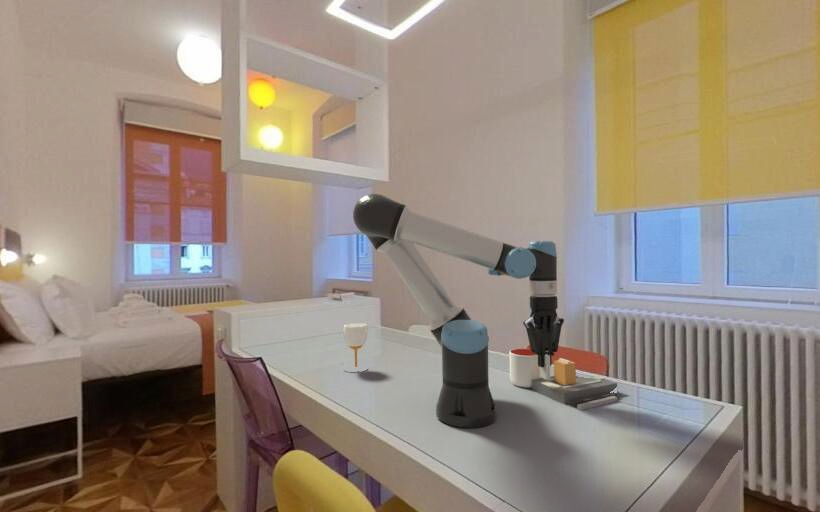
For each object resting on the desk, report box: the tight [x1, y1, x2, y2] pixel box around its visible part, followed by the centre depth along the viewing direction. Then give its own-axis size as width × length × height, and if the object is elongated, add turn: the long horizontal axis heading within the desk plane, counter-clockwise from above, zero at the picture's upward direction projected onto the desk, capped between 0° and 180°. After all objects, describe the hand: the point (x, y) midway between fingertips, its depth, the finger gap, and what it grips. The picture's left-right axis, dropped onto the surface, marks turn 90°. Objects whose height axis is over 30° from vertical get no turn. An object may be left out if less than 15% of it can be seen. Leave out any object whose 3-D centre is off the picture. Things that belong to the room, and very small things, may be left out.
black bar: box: [570, 392, 619, 408], centre depth 109 cm, size 16×1×1 cm, turn 113°
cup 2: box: [343, 322, 369, 367], centre depth 144 cm, size 9×9×16 cm
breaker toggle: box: [553, 357, 577, 385], centre depth 116 cm, size 4×4×7 cm
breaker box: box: [531, 371, 618, 405], centre depth 117 cm, size 20×13×3 cm, turn 113°
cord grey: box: [576, 396, 618, 411], centre depth 107 cm, size 14×1×1 cm, turn 116°
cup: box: [508, 348, 541, 389], centre depth 125 cm, size 10×10×10 cm
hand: (545, 377), depth 113 cm, fingers closed
